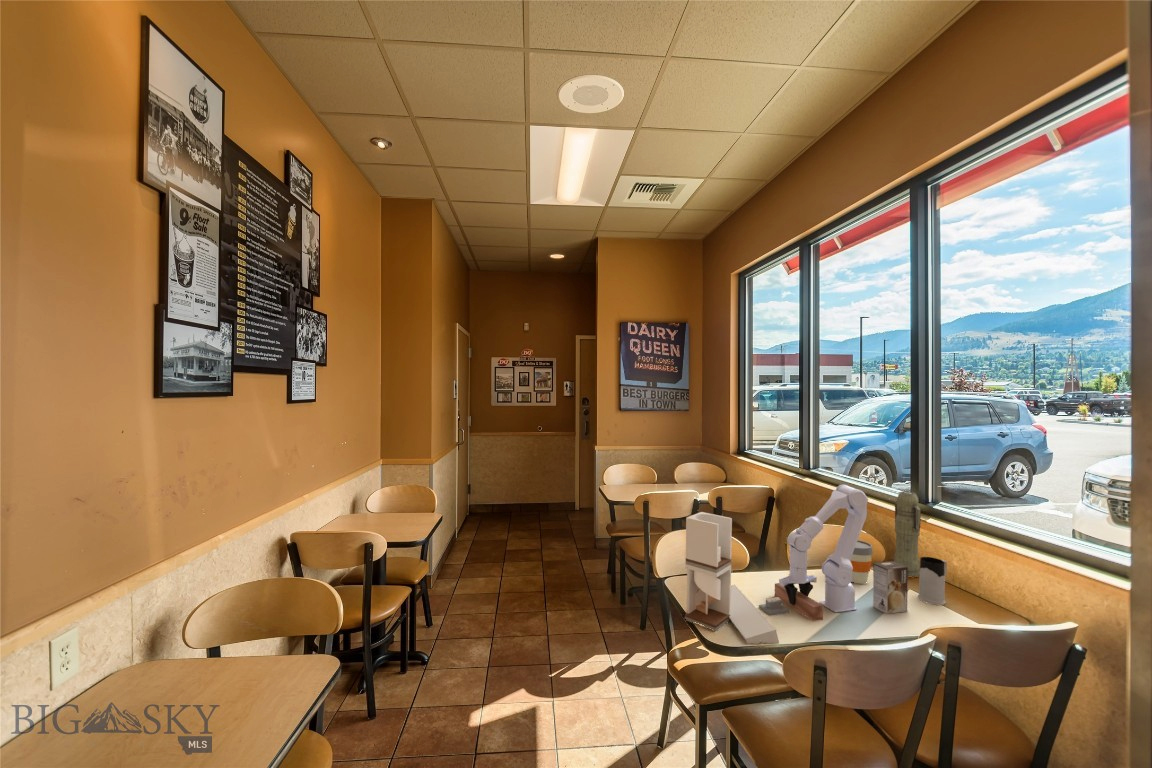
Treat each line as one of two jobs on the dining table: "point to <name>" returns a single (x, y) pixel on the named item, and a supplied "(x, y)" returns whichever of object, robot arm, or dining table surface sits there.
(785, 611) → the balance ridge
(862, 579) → the reusable coffee cup
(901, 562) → the thermos
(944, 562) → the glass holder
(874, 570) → the coffee box
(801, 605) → the mahogany rod
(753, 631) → the decorative molding
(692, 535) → the white tower model
